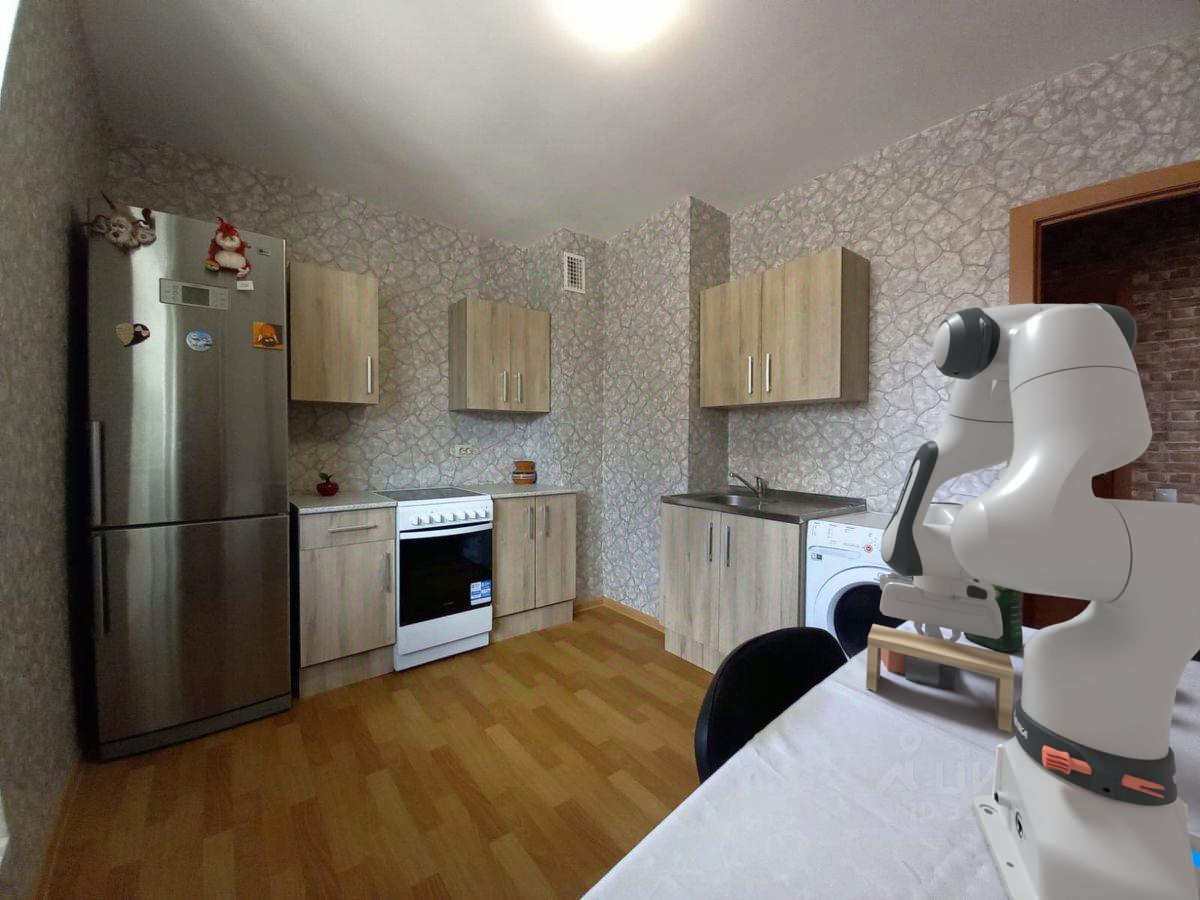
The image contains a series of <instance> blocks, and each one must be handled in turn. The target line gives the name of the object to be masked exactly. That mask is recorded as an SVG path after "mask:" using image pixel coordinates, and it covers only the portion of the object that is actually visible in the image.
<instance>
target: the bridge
mask: <svg viewBox="0 0 1200 900" xmlns="http://www.w3.org/2000/svg"><path fill="white" fill-rule="evenodd" d="M881 648H882V649H886V650H890V651H894V652H898V653H902V654H906V655H910V656H914V657H918V658H922V659H926V660H930V661H934V662H937V663H941V664H945V665H949V666H953V667H956V669H962V670H966V671H970V672H974V673H978V674H981V675H986V676H990V677H994V678H995V688H994V689H995V690H994V691H995V692H994V711H995V718H996V722H997V723H996V724H997V728H998V729H999V730H1002V731H1005V732H1008V733H1012V722H1013V704H1014V703H1013V701H1014V684H1015V670H1014V667H1013V662H1012V658H1011V656H1010V654H1008V653H1004V652H1000V651H995V650H991V649H986V648H982V647H978V646H977V647H976V646H972V645H969V644H965V643H960V642H957V641H956V642H951V641H947V640H945V639H944V640H943V639H938V638H934V637H929V636H925V635H920V634H918V633H915V632H911V631H906V630H903V629H897V628H894V627H889V626H884V625H880V624H876V623H873V624H872V625H871V628H870V630H869V633H868V636H867V650H866V651H867V653H866V654H867V655H866V656H867V657H866V679H865V682H866V683H865V689H866V688H868V689H872V690H875V691H877V689H878V686H879V685H878V684H879V682H878V681H880V678H881V666H882V663H881V662H882V661H881ZM879 677H880V678H879ZM876 688H877V689H876ZM868 689H867V690H868ZM875 691H874V692H875Z"/></svg>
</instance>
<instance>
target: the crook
mask: <svg viewBox="0 0 1200 900" xmlns="http://www.w3.org/2000/svg"><path fill="white" fill-rule="evenodd" d="M924 634H928V635H929V637H934V638H938V639H943V640H945V638H944V635H943V633H942V630H941V627H937V626H933V625H928V624H924ZM956 672H957V667H953V666H949V665H945V664H941V663H937V662H934V661H930V660H926V659H922V658H918V657H914V656H910V655H906V654H905V671H904V673H903V674H904V677H905V678H904V679H905V680H907V679H908V680H907V681H913V682H916V683H921V684H925V685H930V686H933V687H938V688H942V689H947V690H950V691H951V690H952V691H956V680H957V679H956V678H957V677H956V675H957V673H956Z"/></svg>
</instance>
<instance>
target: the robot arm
mask: <svg viewBox="0 0 1200 900" xmlns="http://www.w3.org/2000/svg"><path fill="white" fill-rule="evenodd" d="M1137 340H1138V326H1137V323H1136V320H1135V318H1134V317H1133V316H1132V313H1130V311H1129V310H1127V309H1126V308H1125V307H1122V306H1118V305H1114V304H1108V303H1107V304H1106V303H1095V302H1089V303H1086V304H1085V303H1068V304H1067V303H1037V304H1036V303H1033V302H1032V303H1031V302H1030V303H1016V304H1008V305H998V306H991V307H984V308H980V307H971V308H965V309H962V310H961V309H960V310H958V311H954V312H951V313H950V314H949V315H948V316H946V317H945V318H944V319H943V320H942V321H941V323H940V324H939V327H938V328H937V331H936V334H935V336H934V338H933V343H932V355H933V359H934V364H935V368H936V369H937V370H938V371H939V372H940V373H941V374H942V375H943V376H945V377H949V378H953V379H955V381H954V383H953V387H952V390H951V394H950V397H949V401H948V406H947V413H946V417H945V420H944V422H943V424H942V427H941V428H940V429H939V431H938V432H937V433H936V435H935V436H934V437H933V438H931V440H929V441H927V442H924V443H923V444H921V446H920V447H919V449H918V450H917V451H916V454H915V455H914V458H913V459H912V463H911V464H910V467H909V469H908V473H907V474H906V475H907V476H906V478H905V481H904V484H903V486H902V488H901V492H900V495H899V497H898V500H897V503H896V505H895V509H894V512H893V514H892V516H891V518H890V521H889V522H888V523H887V525H886V527H885V529H884V531H883V534H882V537H881V541H880V556H881V558H882V561H883V562H884V563H885V564H886V565H887V566H888V567H889V568H890V569H891V570H892V571H891V572H890V571H888V572H887V573H883V574H882V575H880V576H879V583H878V585H879V588H880V590H881V591H882V593H881V596H880V597H881V598H880V604H879V611H880V612H881V613H882V615H884V616H887V617H891V618H897V619H901V620H904V621H905V620H906V621H908V622H914V623H913V627H914V629H915V631H916V632H917V634H920V635H925V636H929V635H928V634H925V631H924V630H923V629H922V628H923V624H924V625H925V624H928V625H933V626H937V627H939V628H943V629H947V630H951V635H952V636H951V637H949V638H947V637H946V638H944V640H947V641H951V642H956V643H957V641H959V639H960V638H961V637H962V633H964V632H966V633H970V634H975V635H980V636H985V637H989V638H994V639H998V638H1000V637H1001V636H1002V635H1003V625H1002V617H1001V612H1000V608H999V606H998V603H997V601H996V600H995V596H996V592H995V589H994V587H993V586H992V584H995V585H998V586H1002V587H1006V588H1010V589H1013V590H1017V591H1021V593H1024V594H1025V593H1027V594H1034V595H1044V596H1053V597H1060V598H1069V599H1076V600H1085V601H1090V603H1088V605H1087V607H1085V608H1084V610H1083V611H1082V612H1080V613H1079V614H1078V615H1076V616H1074V617H1075V618H1074V617H1073V618H1071V619H1069V620H1066V621H1063V622H1059V623H1056V624H1052V625H1049V626H1045V627H1043V628H1040V629H1039V630H1037V631H1035V632H1034V633H1033V634H1032V635H1030V637H1029V638H1028V639H1027V641H1026V642H1025V645H1024V646H1023V657H1022V658H1023V663H1022V676H1021V677H1022V678H1021V679H1022V680H1021V681H1022V682H1021V697H1020V698H1019V699H1018V700H1017V701H1016V704H1015V705H1016V706H1015V709H1014V712H1013V723H1014V727H1013V728H1014V729H1013V731H1014V736H1013V737H1012V738H1010V739H1009V740H1007V741H1004V742H1001V743H999V744H997V746H996V750H995V762H994V769H993V770H994V771H993V782H992V789H991V790H992V791H991V792H992V793H991V795H986V794H985V795H982V794H980V795H975V796H973V798H972V803H971V807H972V806H973V807H972V810H973V809H974V810H973V813H974V815H975V814H976V815H975V818H976V817H977V818H976V820H977V823H978V822H979V823H978V825H979V824H980V825H979V827H980V826H981V828H982V830H981V832H982V831H983V833H984V835H983V837H984V836H985V838H984V840H985V839H986V840H985V842H986V841H987V843H988V845H989V848H990V850H991V852H992V855H993V857H994V860H995V862H996V865H995V867H996V866H997V868H998V870H999V873H998V875H999V874H1000V875H999V877H1000V876H1001V878H1000V880H1001V879H1002V880H1001V882H1003V883H1002V885H1003V888H1004V889H1005V893H1006V895H1007V897H1009V898H1008V900H1009V899H1010V900H1200V867H1198V866H1197V865H1195V864H1194V859H1193V857H1194V856H1193V853H1192V851H1193V852H1195V853H1197V854H1200V836H1198V835H1195V834H1193V833H1191V832H1189V830H1188V829H1189V828H1188V823H1187V822H1188V821H1187V820H1188V810H1189V805H1188V804H1187V803H1186V802H1184V801H1183V799H1182V798H1180V797H1179V796H1178V786H1177V782H1178V778H1179V777H1178V767H1177V765H1176V760H1175V752H1174V751H1173V749H1172V748H1171V746H1170V736H1171V727H1172V719H1173V712H1174V707H1175V700H1176V695H1177V694H1176V693H1177V690H1178V689H1177V688H1178V685H1179V682H1180V679H1181V677H1182V674H1183V672H1184V671H1185V669H1186V667H1187V666H1188V664H1189V663H1190V661H1191V660H1192V659H1193V658H1194V657H1195V656H1196V654H1197V653H1198V652H1199V651H1200V504H1193V503H1188V502H1187V503H1186V502H1172V501H1152V500H1137V499H1136V500H1135V499H1134V500H1133V499H1115V498H1102V497H1096V496H1095V494H1094V492H1093V488H1092V478H1093V477H1095V476H1098V475H1101V474H1105V473H1108V472H1111V471H1113V470H1116V469H1118V468H1121V467H1123V466H1125V465H1128V464H1130V463H1132V462H1134V461H1136V460H1137V459H1138V458H1140V457H1141V456H1142V455H1143V454H1144V453H1145V452H1146V450H1147V449H1148V447H1149V445H1150V443H1151V441H1152V437H1153V428H1152V424H1151V421H1150V417H1149V413H1148V408H1147V403H1146V399H1145V396H1144V391H1143V386H1142V383H1141V379H1140V374H1139V372H1138V368H1137V365H1136V361H1135V359H1134V356H1133V353H1134V350H1135V347H1136V345H1137ZM1008 460H1009V463H1008V466H1007V468H1006V470H1005V471H1004V473H1003V474H1002V475H1001V477H1000V478H999V479H998V480H997V481H996V482H995V484H993V485H992V487H990V488H989V489H987V490H986V491H984V492H982V493H981V494H980V495H978V496H976V497H974V498H973V499H971V500H969V501H968V502H966V503H965V504H961V503H958V502H948V501H933V499H934V496H935V494H936V493H937V490H938V489H939V488H940V487H941V486H942V485H944V484H945V483H947V482H948V481H950V480H953V479H955V478H957V477H960V476H963V475H966V474H969V473H974V472H976V471H977V472H978V471H980V470H981V471H982V470H986V469H990V468H993V467H995V466H998V465H1000V464H1002V463H1004V462H1007V461H1008ZM893 571H894V572H893ZM990 583H991V584H990ZM981 828H980V829H981ZM983 833H982V834H983ZM987 843H986V844H987ZM988 845H987V846H988ZM989 848H988V849H989ZM990 850H989V851H990ZM992 855H991V856H992ZM994 860H993V861H994ZM997 868H996V869H997ZM998 870H997V871H998Z"/></svg>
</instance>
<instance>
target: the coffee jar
mask: <svg viewBox="0 0 1200 900" xmlns="http://www.w3.org/2000/svg"><path fill="white" fill-rule="evenodd" d="M990 584H991V583H990ZM992 586H993V587H994V589H995V592H996V596H995V600H996V601H997V603H998V606H999V608H1000V612H1001V617H1002V625H1003V635H1002V636H1001V637H1000V638H998V639H994V638H989V637H985V636H980V635H975V634H970V633H966V632H963V636H964V637H965V638H966V639H968V640H969V641H972V642H974V643H977V644H979V645H983V646H984V645H985V647H987V648H991V649H994V650H998V651H999V652H1000V651H1002V652H1013V653H1015V652H1017V651H1019V650H1022V648H1024V645H1023V643H1024V642H1023V640H1024V639H1023V638H1024V637H1023V627H1022V626H1023V625H1022V616H1021V615H1022V613H1021V612H1022V611H1021V596H1022V595H1021V594H1022V592H1021V591H1017V590H1013V589H1010V588H1006V587H1002V586H998V585H995V584H992Z"/></svg>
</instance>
